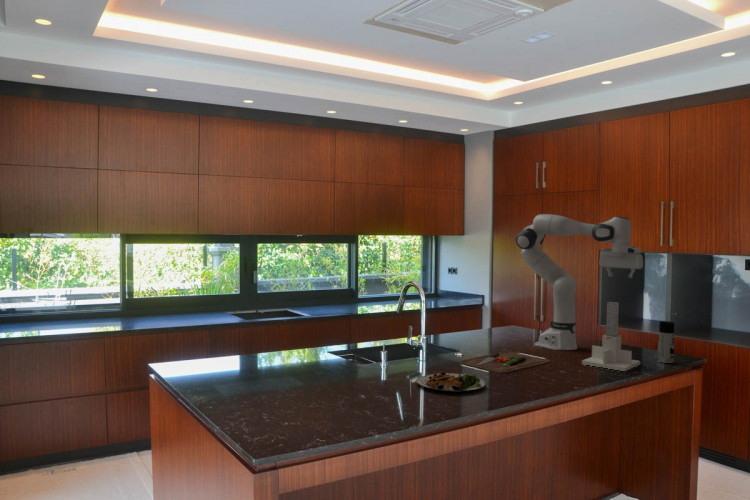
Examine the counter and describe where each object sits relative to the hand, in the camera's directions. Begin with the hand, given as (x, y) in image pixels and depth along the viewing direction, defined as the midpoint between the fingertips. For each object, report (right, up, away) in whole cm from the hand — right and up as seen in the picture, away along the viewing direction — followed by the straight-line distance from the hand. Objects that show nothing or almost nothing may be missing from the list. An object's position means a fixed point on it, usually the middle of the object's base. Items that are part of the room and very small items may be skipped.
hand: (620, 277), depth 284 cm
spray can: (+21, -42, -3) cm, 47 cm away
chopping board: (-59, -41, -8) cm, 73 cm away
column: (-9, -30, -10) cm, 32 cm away
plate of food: (-91, -42, -50) cm, 112 cm away
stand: (-9, -41, -10) cm, 43 cm away
